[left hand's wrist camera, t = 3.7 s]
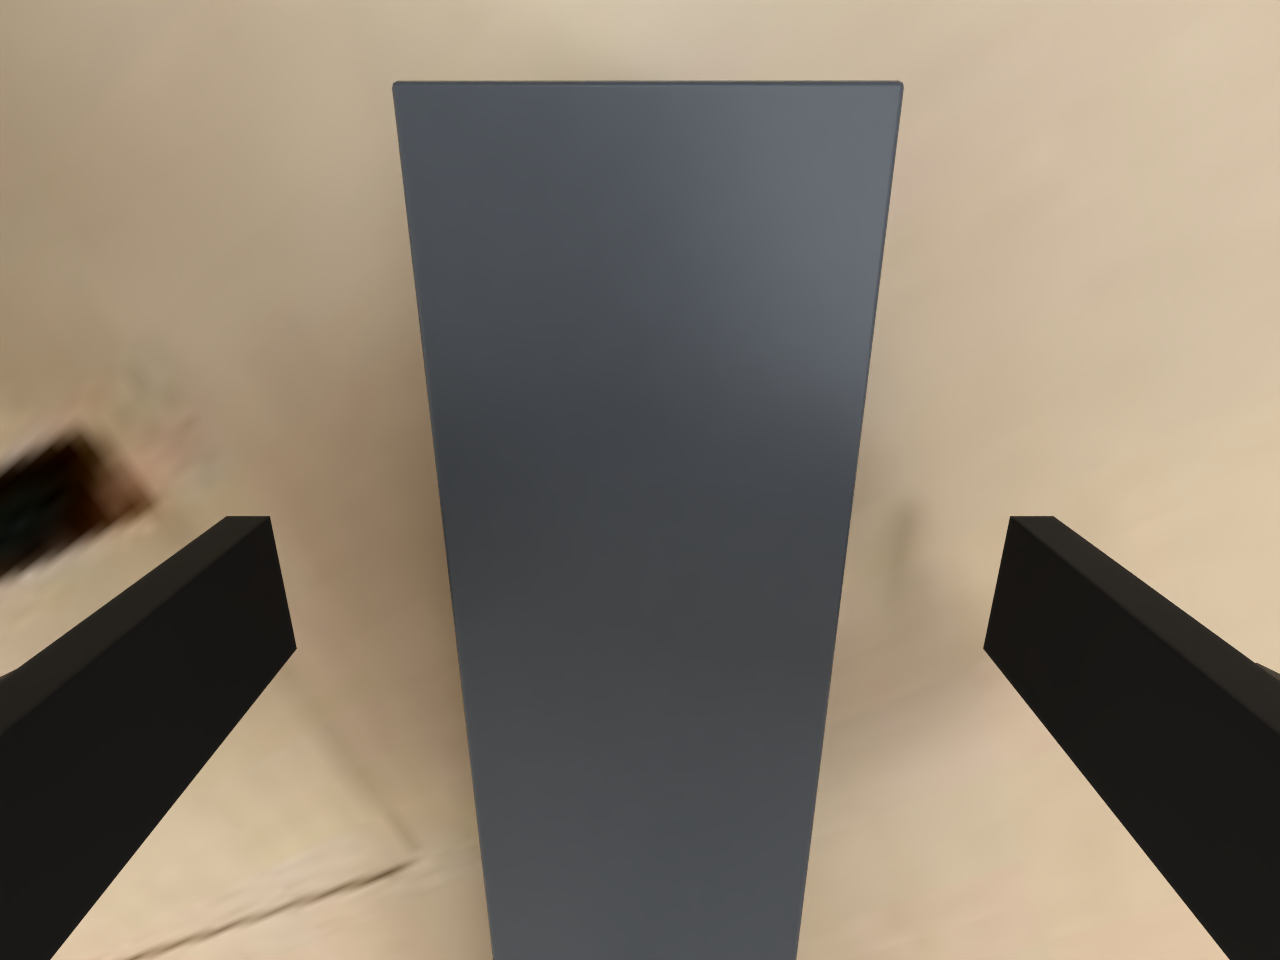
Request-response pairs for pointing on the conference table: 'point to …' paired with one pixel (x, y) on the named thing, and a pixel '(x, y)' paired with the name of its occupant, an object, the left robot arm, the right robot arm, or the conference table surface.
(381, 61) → the conference table surface
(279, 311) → the conference table surface
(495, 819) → the post
